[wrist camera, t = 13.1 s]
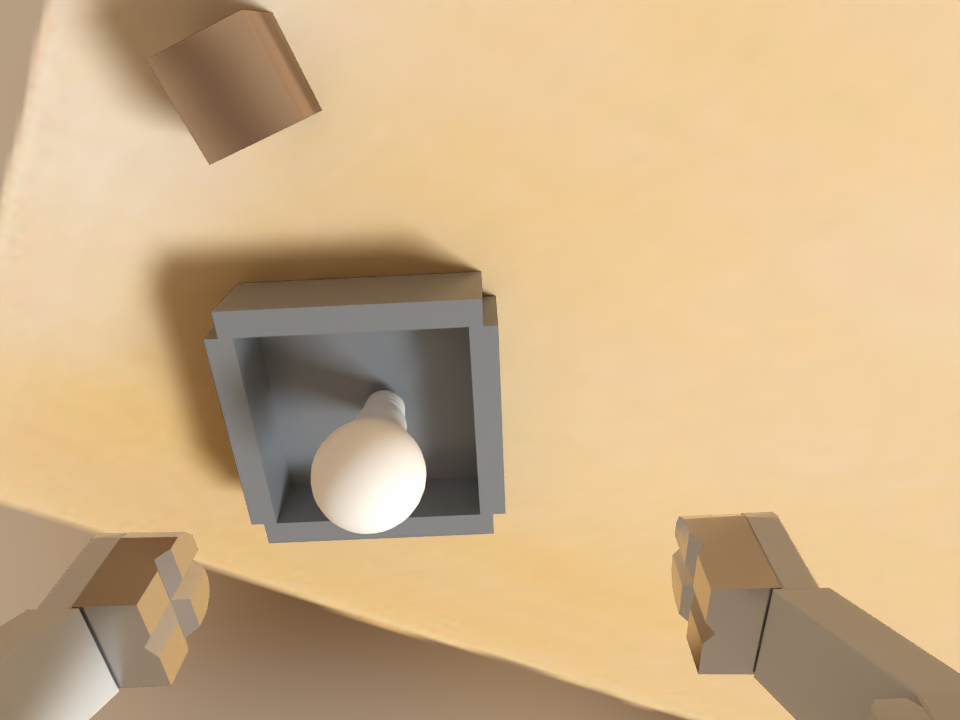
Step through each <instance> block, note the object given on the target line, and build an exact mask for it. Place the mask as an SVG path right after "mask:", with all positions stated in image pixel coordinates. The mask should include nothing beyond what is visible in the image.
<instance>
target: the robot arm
mask: <svg viewBox="0 0 960 720" xmlns="http://www.w3.org/2000/svg"><path fill="white" fill-rule="evenodd" d="M675 537H676V539H677V542H678V545H679V548H680V549H679V550H677V551H676V552H675V553H674V554H673V558H672V586H673V592H674V597H675V601H676V605H677V608H678V612H679V614H680V615H681V616H682V617H684V618H685V619H686V620H687V621H688V629H687V641H688V644H689V647H690V650H691V653H692V656H693V659H694V662H695V665H696V669H697V672H698V674H755V675H754V678H755V679H756V680H757V681H758V682H759V683H760V684H761V685H762V686H763V687H764V688H765V689H766V690H767V691H768V692H769V693H770V694H771V695H772V696H773V697H774V698H775V699H776V700H777V701H778V702H779V703H780V704H781V705H782V706H783V707H784V708H785V709H786V710H787V711H788V712H789V713H790V714H791V715H792V716H793V717H794V718H795V719H796V720H960V674H959V673H958V672H956V671H955V670H953V669H952V668H950V667H949V666H947V665H946V664H944V663H943V662H941V661H940V660H938V659H937V658H935V657H934V656H932V655H931V654H929V653H928V652H926V651H924V650H923V649H921V648H920V647H918V646H917V645H915V644H914V643H912V642H911V641H909V640H908V639H906V638H905V637H903V636H902V635H900V634H899V633H897V632H896V631H894V630H893V629H891V628H890V627H888V626H887V625H885V624H883V623H882V622H880V621H879V620H877V619H876V618H874V617H873V616H871V615H870V614H868V613H867V612H865V611H864V610H862V609H861V608H859V607H858V606H856V605H855V604H853V603H852V602H850V601H849V600H847V599H846V598H844V597H842V596H841V595H839V594H838V593H836V592H835V591H833V590H832V589H830V588H819V586H818V584H817V582H816V581H815V579H814V577H813V576H812V574H811V572H810V570H809V569H808V567H807V565H806V563H805V562H804V560H803V558H802V557H801V555H800V553H799V551H798V550H797V548H796V546H795V545H794V543H793V541H792V539H791V538H790V536H789V534H788V532H787V531H786V529H785V527H784V526H783V524H782V522H781V520H780V519H779V517H778V516H777V515H776V514H775V513H773V512H761V513H741V514H726V515H701V516H679V518H678V520H677V523H676V530H675ZM197 551H198V548H197V545H196V543H195V540H194V538H193V535H191V534H188V533H186V532H155V533H128V534H127V533H101V534H99V535H97V536H95V537H93V538H91V540H90V541H89V542H88V543H87V545H86V546H85V547H84V549H83V550H82V551H81V553H80V554H79V555H78V556H77V558H76V559H75V560H74V562H73V563H72V564H71V565H70V567H69V568H68V569H67V571H66V572H65V573H64V574H63V576H62V577H61V578H60V580H59V581H58V583H57V584H56V585H55V586H54V587H53V589H52V590H51V591H50V593H49V594H48V596H47V597H46V598H45V599H44V600H43V602H42V603H41V604H40V606H39V607H38V608H37V609H36V610H26V611H24V612H23V613H21V614H20V615H18V616H16V617H15V618H13V619H12V620H10V621H8V622H7V623H5V624H4V625H2V626H0V720H89V719H90V718H91V717H92V716H93V715H94V714H95V713H96V712H97V711H99V709H101V708H102V706H104V705H105V704H106V703H107V702H108V701H109V700H110V699H111V698H112V697H113V696H114V695H115V694H117V693H118V692H119V690H118V688H135V687H155V686H171V685H172V683H173V681H174V679H175V677H176V675H177V673H178V671H179V669H180V666H181V664H182V662H183V660H184V658H185V656H186V654H187V652H188V650H189V649H188V646H187V643H186V639H185V638H186V637H187V636H188V635H189V634H191V633H192V632H193V631H194V630H196V629H197V628H198V627H199V626H200V625H201V622H202V620H203V618H204V616H205V613H206V611H207V606H208V600H209V595H210V591H209V580H208V577H207V574H206V571H205V569H204V568H203V567H202V566H200V565H199V564H198V563H197V562H195V561H194V560H193V558H194V556H195V555H196V553H197Z"/></svg>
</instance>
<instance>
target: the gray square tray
mask: <svg viewBox="0 0 960 720" xmlns="http://www.w3.org/2000/svg"><path fill="white" fill-rule="evenodd" d="M211 313H212V317H213V321H214V325H215V327H214V328H213V329H212V331H211V332H210V333H209V334H208V335H207V336H206V337H205V338H204V344H205V348H206V351H207V355H208V359H209V363H210V367H211V371H212V374H213V378H214V382H215V386H216V390H217V394H218V397H219V401H220V405H221V409H222V413H223V417H224V420H225V424H226V428H227V432H228V436H229V439H230V443H231V447H232V451H233V455H234V459H235V462H236V466H237V470H238V474H239V478H240V482H241V485H242V489H243V493H244V497H245V501H246V505H247V508H248V512H249V516H250V520H251V524H264V525H265V529H266V533H267V537H268V541H269V543H285V542H308V541H332V540H355V539H378V538H401V537H424V536H447V535H471V534H494V527H493V514H504V513H505V491H504V465H503V439H502V413H501V387H500V362H499V336H498V318H497V307H496V296H487V297H482V277H481V272H463V273H442V274H422V275H401V276H381V277H360V278H339V279H319V280H298V281H278V282H257V283H238V284H237V285H236V286H235V287H234V288H233V289H232V290H231V291H230V293H229V294H228V295H227V296H226V297H225V298H224V299H223V300H222V301H221V302H220V303H219V304H218V305H217V306H216V307H215V308H214V309H213V311H212V312H211ZM381 390H388V391H392V392H394V393H396V394H397V395H399V396H400V397H401V398H402V400H403V402H404V404H405V419H406V422H407V432H408V433H409V434H410V435H411V437H412V438H413V439H414V440H415V441H416V443H417V444H418V446H419V448H420V449H421V452H422V455H423V458H424V461H425V465H426V483H425V490H424V492H423V494H422V497H421V499H420V502H419V504H418V505H417V507H416V508H415V509H414V511H413V512H412V513H411V515H410V516H409V517H408V518H407V519H405V520H404V521H403V522H402V523H400V524H398V525H397V526H395V527H393V528H391V529H389V530H386V531H384V532H379V533H373V534H360V533H354V532H350V531H347V530H345V529H343V528H341V527H339V526H337V525H336V524H334V523H333V522H331V521H330V520H329V519H328V518H327V517H326V516H325V515H324V514H323V512H322V511H321V510H320V508H319V507H318V505H317V503H316V501H315V499H314V496H313V492H312V487H311V466H312V463H313V460H314V457H315V454H316V452H317V450H318V448H319V447H320V445H321V443H322V442H323V441H324V440H325V439H326V438H327V437H328V436H329V435H330V434H331V433H332V432H333V431H334V430H336V429H337V428H339V427H340V426H342V425H344V424H347V423H349V422H351V421H354V420H355V419H356V417H357V415H358V413H359V412H360V411H361V410H362V409H363V408H364V405H365V403H366V401H367V399H368V398H369V396H370V395H371V394H373V393H374V392H377V391H381Z"/></svg>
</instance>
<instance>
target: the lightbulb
mask: <svg viewBox="0 0 960 720" xmlns="http://www.w3.org/2000/svg"><path fill="white" fill-rule="evenodd" d="M425 483H426V465H425V461H424V458H423V455H422V452H421V449H420V448H419V446H418V444H417V443H416V441H415V440H414V439H413V438H412V437H411V435H410V434H409V433H408V432H407V422H406V419H405V404H404V402H403V400H402V398H401V397H400V396H399V395H397V394H396V393H394V392H392V391H388V390H381V391H377V392H374V393H373V394H371V395H370V396H369V398H368V399H367V401H366V403H365V405H364V408H363V409H362V410H361V411H360V412H359V413H358V415H357V417H356V419H355V420H354V421H351V422H349V423H347V424H344V425H342V426H340V427H339V428H337V429H336V430H334V431H333V432H332V433H331V434H330V435H329V436H328V437H327V438H326V439H325V440H324V441H323V442H322V443H321V445H320V447H319V448H318V450H317V452H316V454H315V457H314V460H313V463H312V466H311V487H312V492H313V496H314V499H315V501H316V503H317V505H318V507H319V508H320V510H321V511H322V512H323V514H324V515H325V516H326V517H327V518H328V519H329V520H330V521H331V522H333V523H334V524H336V525H337V526H339V527H341V528H343V529H345V530H347V531H350V532H354V533H360V534H373V533H379V532H384V531H386V530H389V529H391V528H393V527H395V526H397V525H398V524H400V523H402V522H403V521H404V520H405V519H407V518H408V517H409V516H410V515H411V513H412V512H413V511H414V509H415V508H416V507H417V505H418V504H419V502H420V499H421V497H422V494H423V492H424V490H425Z"/></svg>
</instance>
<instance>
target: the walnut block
mask: <svg viewBox="0 0 960 720" xmlns="http://www.w3.org/2000/svg"><path fill="white" fill-rule="evenodd" d="M147 62H148V64H149V65H150V67H151V69H152V70H153V72H154V74H155V75H156V77H157V79H158V80H159V82H160V84H161V85H162V87H163V89H164V90H165V92H166V93H167V95H168V97H169V98H170V100H171V102H172V103H173V105H174V107H175V108H176V110H177V112H178V113H179V115H180V117H181V118H182V120H183V122H184V123H185V125H186V127H187V128H188V130H189V132H190V133H191V135H192V137H193V138H194V140H195V142H196V143H197V145H198V147H199V148H200V150H201V152H202V153H203V155H204V157H205V158H206V160H207V162H208V163H209V165H210V164H213V163H215V162H217V161H219V160H221V159H223V158H225V157H227V156H229V155H231V154H233V153H235V152H237V151H239V150H241V149H244V148H246V147H248V146H250V145H252V144H254V143H256V142H258V141H260V140H262V139H264V138H266V137H268V136H270V135H273V134H275V133H277V132H279V131H281V130H283V129H285V128H287V127H289V126H291V125H293V124H295V123H297V122H299V121H301V120H303V119H305V118H307V117H309V116H311V115H313V114H315V113H317V112H319V111H321V110H322V109H321V107H320V105H319V103H318V101H317V99H316V97H315V95H314V93H313V91H312V90H311V88H310V86H309V84H308V82H307V80H306V78H305V76H304V74H303V72H302V70H301V68H300V66H299V64H298V62H297V60H296V58H295V56H294V54H293V52H292V50H291V48H290V46H289V44H288V42H287V40H286V38H285V36H284V34H283V32H282V30H281V28H280V27H279V25H278V23H277V21H276V19H275V17H274V15H273V13H269V12H260V11H250V10H240V11H238V12H236V13H234V14H232V15H230V16H228V17H227V18H225V19H223V20H221V21H219V22H217V23H215V24H213V25H211V26H209V27H208V28H206V29H204V30H202V31H200V32H198V33H196V34H194V35H192V36H190V37H189V38H187V39H185V40H183V41H181V42H179V43H177V44H175V45H173V46H171V47H169V48H168V49H166V50H164V51H162V52H160V53H158V54H156V55H154V56H152V57H150V58H149V59H147Z"/></svg>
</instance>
